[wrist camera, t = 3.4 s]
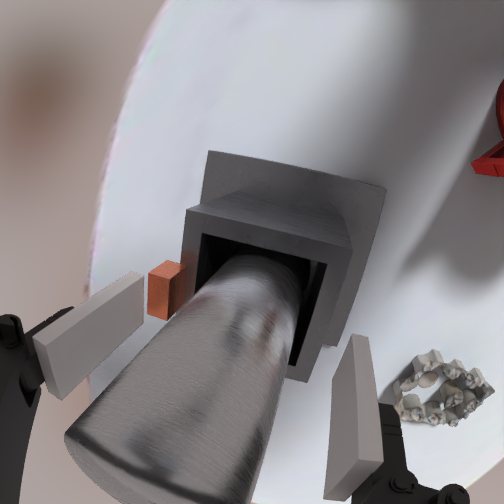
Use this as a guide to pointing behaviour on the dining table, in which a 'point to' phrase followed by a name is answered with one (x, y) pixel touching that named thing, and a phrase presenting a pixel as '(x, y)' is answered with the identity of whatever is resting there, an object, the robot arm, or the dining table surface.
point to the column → (199, 391)
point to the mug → (500, 156)
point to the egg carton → (449, 391)
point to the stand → (277, 241)
